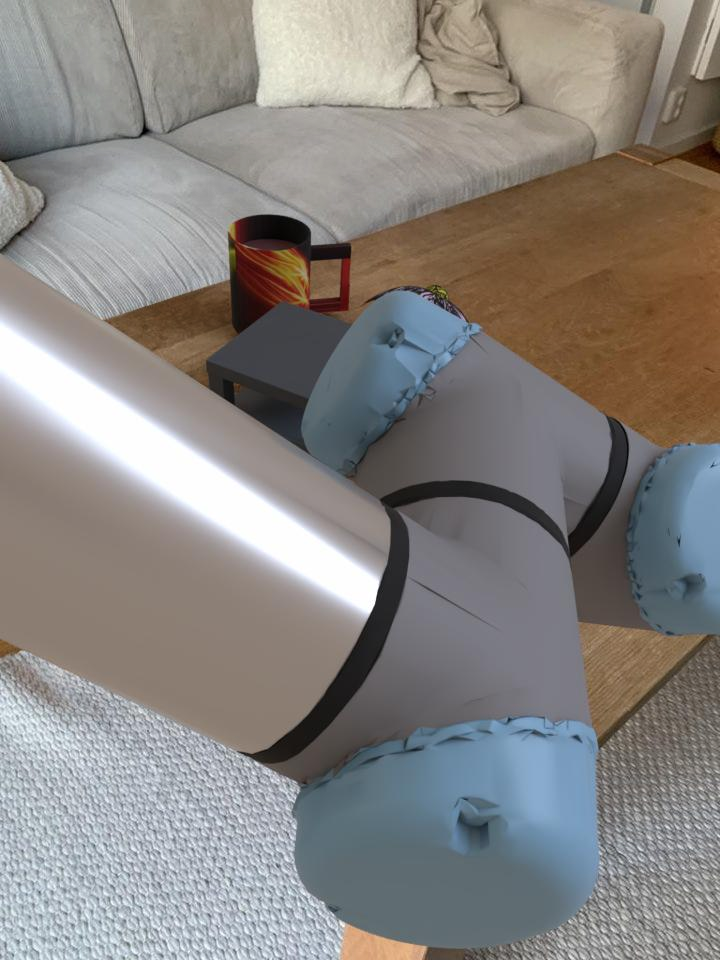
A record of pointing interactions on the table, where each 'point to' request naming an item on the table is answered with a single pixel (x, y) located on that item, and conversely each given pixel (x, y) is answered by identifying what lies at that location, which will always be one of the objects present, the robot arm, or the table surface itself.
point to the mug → (278, 267)
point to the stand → (276, 366)
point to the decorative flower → (428, 297)
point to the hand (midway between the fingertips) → (361, 553)
